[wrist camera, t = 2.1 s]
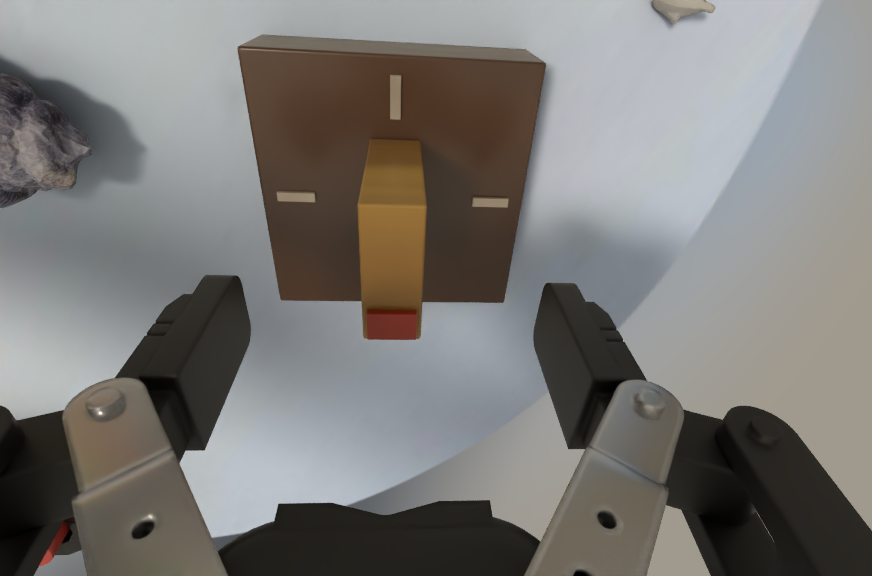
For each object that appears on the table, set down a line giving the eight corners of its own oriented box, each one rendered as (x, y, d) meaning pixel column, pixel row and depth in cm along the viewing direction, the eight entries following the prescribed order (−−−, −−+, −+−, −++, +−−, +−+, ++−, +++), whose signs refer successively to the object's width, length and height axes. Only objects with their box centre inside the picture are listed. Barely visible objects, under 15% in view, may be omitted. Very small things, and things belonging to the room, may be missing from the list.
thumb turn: (369, 138, 16) (356, 208, 12) (420, 140, 16) (427, 209, 12) (372, 250, 19) (362, 344, 14) (416, 251, 19) (420, 344, 14)
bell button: (-11, 507, 27) (-34, 537, 25) (55, 505, 27) (35, 536, 25) (18, 538, 29) (-2, 568, 27) (79, 536, 29) (62, 566, 27)
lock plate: (260, 34, 17) (234, 47, 14) (527, 49, 18) (548, 63, 15) (293, 264, 23) (279, 303, 20) (493, 267, 23) (504, 305, 21)
